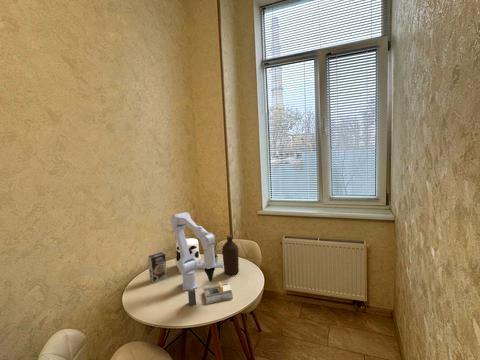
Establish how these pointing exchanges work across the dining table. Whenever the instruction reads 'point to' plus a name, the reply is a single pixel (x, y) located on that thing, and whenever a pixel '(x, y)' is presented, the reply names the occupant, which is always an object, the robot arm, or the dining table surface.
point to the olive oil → (230, 257)
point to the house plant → (216, 253)
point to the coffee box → (157, 267)
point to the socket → (218, 296)
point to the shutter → (224, 288)
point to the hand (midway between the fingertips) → (210, 280)
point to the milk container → (190, 250)
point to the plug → (192, 297)
